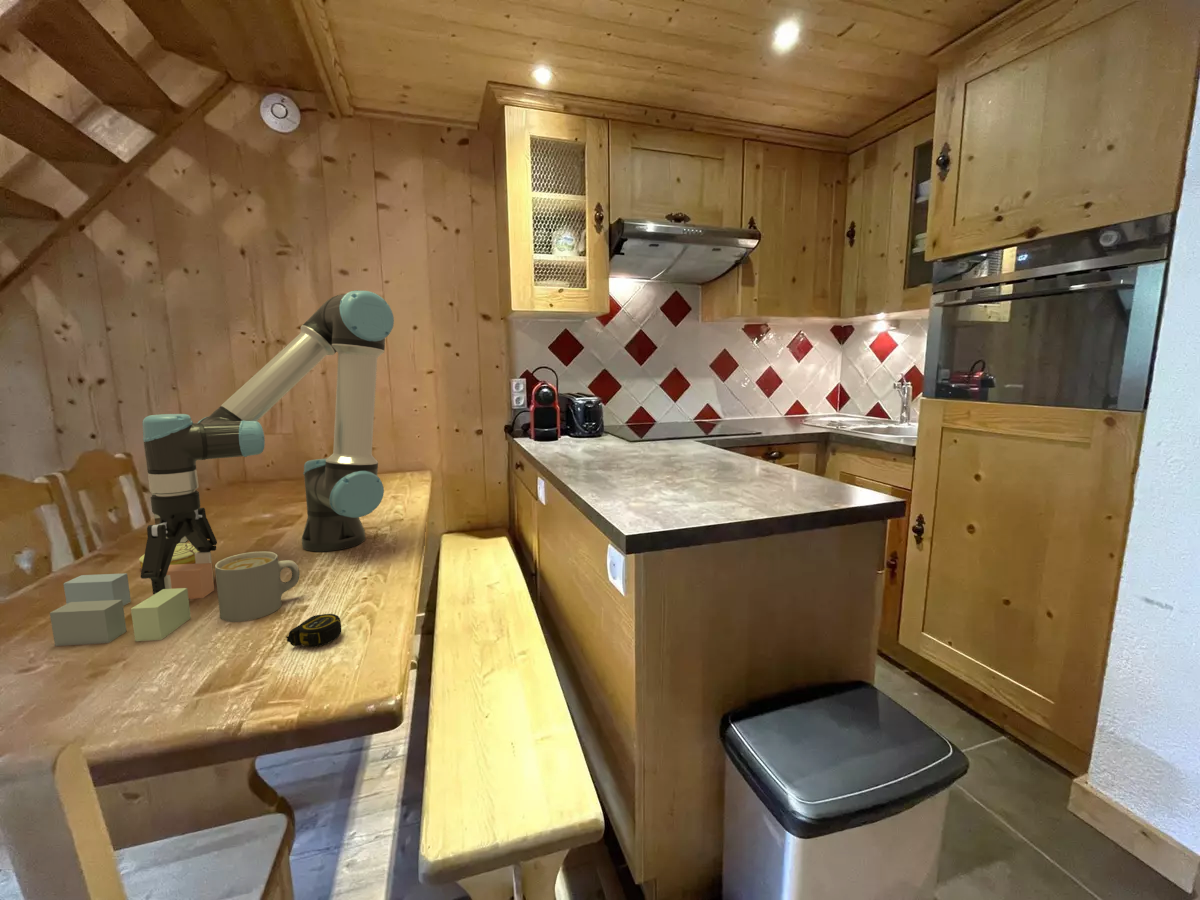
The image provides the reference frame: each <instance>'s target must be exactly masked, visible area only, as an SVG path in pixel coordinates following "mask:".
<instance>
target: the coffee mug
mask: <svg viewBox="0 0 1200 900" xmlns="http://www.w3.org/2000/svg"><path fill="white" fill-rule="evenodd" d="M278 556H279V555H278V554H277V553H275V552H273V551H261V550H260V551H251V552H243V553H239V554H235V555H231V556H228V557H225V558H223V559H221V560H219V561H217V562H216V563H215V565H214V570H215V580H216V591H217V597H218V598H217V600H218V608H219V618H220V619H221V620H222V621H225V622H231V623H238V622H247V621H253V620H256V619H261V618H263V617H266V616H268V615H270V614H273V613H275V612H277V611H278V610H279V609H280V608H281V607H282V605H283V604H282V596H283V594H285V592H287V591H289V590H290V589H292V588H293V587H295V586H296V585H297V584H298V582H299V580H300V569H299V568H300V567H299V565H298V564H297V563H296V562H295V561H294V560H291V559H290V560H289V559H287V560H286V559H285V560H279V558H278ZM285 568H289V570H290V571H291V578H290V579H289V580H288V581H282V578H281V572H282V571H283V569H285Z"/></svg>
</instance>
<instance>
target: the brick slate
mask: <svg viewBox="0 0 1200 900" xmlns="http://www.w3.org/2000/svg"><path fill="white" fill-rule="evenodd" d="M49 617H50V618H49V619H50V623H51V630H52V635H53V642H54V643H53V644H54V647H59V646H60V647H63V646H82V645H94V644H95V645H97V644H109V643H111V642H113V641H114V640H116V639H117V638H119V637H120V636H121V635H123V634H124V633H126V632H127V623H126V619H125V618H126V616H125V608H124V606H123V601H122V600H105V601H84V602H70V603H68V604H67V603H65V604H64V605H62V606H60V607H58V608H56V609H54V610H52V611H50V612H49Z"/></svg>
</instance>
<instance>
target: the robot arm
mask: <svg viewBox="0 0 1200 900" xmlns="http://www.w3.org/2000/svg"><path fill="white" fill-rule="evenodd" d="M394 318H395V317H394V314H393V310H392V309H391V306H390V305H389V303H387V301H386V300H385V299H384V298H383V297H382V296H380V295H379V294H377V293H375V292H373V291H370V290H352V291H348V292H346V293H343V294H338V295H335V296H333V297H331V298H329V299H327V300H326V301H325V302H324V303H323V304H322V305H321V306H320V307H319V308H318V309H317V310H316V311H315V312H314V313H313V314H312V315H311V316H310V317H309V318H308V319H307V320H306V321H305V322H304V323H303V324H302V325H301V326H300V333H299V334H298V335H296V337H294V338H293V339H292V340H291V341H290V342H289V343H288V344H287V345H286V346H285V347H284V348H283V349H281V350H280V351H279V352H278V353H277V354H276V355H274V357H272V358H271V359H270V360H269V361H268V362H267V363H266V364H265V365H263V366H262V368H261V369H259V370H258V371H257V372H256V373H255V374H254V375H253V376H252V377H251V378H249V380H247V381H246V382H245V383H244V384H243V385H242V386H240V388H238V389H237V390H236V391H235V392H234V393H233V394H232V395H231V396H230V397H229V398H227V399H226V400H225V401H224V402H223V403H222V404H221V405H220V406H219V407H218V408H216V409H215V410H214V411H213V412H212V413H211V414H210V415H209V416H205V417H203V418H202V419H200V420H198V422H193V420H192V417H191V415H189V414H188V413H187V414H186V413H163V414H161V413H160V414H152V415H147V416H146V417H144V418H143V420H142V436H143V437H142V441H143V448H144V449H143V450H144V456H145V461H146V462H145V463H146V471H147V476H148V478H147V480H148V485H149V492H150V493H151V496H150V505H151V512H152V514H153V515H154V514H156V515H158V516H159V517H160V522H159V524H158V525H155V524H148V526H147V527H146V531H147V532H146V534H147V539H146V545H145V550H144V554H145V555H144V554H143V555H144V560H143V565H142V568H141V571H140V578H141V579H150V581H151V588H152V593H153V594H152V595H154V594H156V593H158V592H159V591H161V590H163V589H172V587H171V578H170V575H166V574H167V571H168V568H169V565H170V562H171V559H172V556H173V553H174V550H175V547H176V545H177V544H179V543H180V541H181V539H182V538H183V537H186V538H187V539H188V541H189V543H191V544H192V545H193V546H194V547H195V548H196V550H197V551H200V552H197V553H195V561H196V563H195V564H202V563H211V565H212V566H213V562H212V554H211V552H215V551H216V550H217V546H216V545H217V544H218V540H217V538H216V536H215V534H214V532H213V529H212V526H211V525H210V522H209V520H208V518H207V515H206V514H207V513H206V509H205V507H201V498H200V492H199V491H198V488H199V487H200V486H199V478H198V471H197V461H205V460H214V459H215V460H216V459H226V458H239V457H240V458H241V457H244V458H246V457H250V456H256V455H261V454H263V452H264V450H265V445H266V443H265V439H266V438H265V432H264V429H263V426H262V424H261V423H260V422H259V420H260V419H262V417H264V415H266V414H267V413H268V412H269V411H270V410H271V409H272V408H273V407H274V406H275V405H276V404H277V403H278V402H280V400H281V399H282V398H283V397H284V396H286V394H287V393H289V391H291V390H292V389H293V388H294V387H295V386H296V385H297V384H298V383H299V382H300V381H301V380H302V379H303V378H304V377H305V376H307V375H308V374H309V373H310V372H311V371H312V369H314V368H315V367H316V366H317V365H318V364H319V363H320V362H321V361H323V359H325V357H326V356H334V355H335V354H336V353H337V355H338V356H337V373H336V392H335V393H336V394H335V408H334V409H335V410H334V411H335V412H334V413H335V414H334V431H333V448H332V449H333V450H332V452H333V453H332V454H330V456H328V457H326V458H319V459H310V460H307V461H306V462H304V465H303V477H304V489H305V501H306V512H307V519H306V521H305V524H304V525H305V526H304V530H303V532H302V535H301V536H302V537H301V546H302V547H301V548H302V549H303V550H305V551H310V552H331V551H332V552H333V551H341V550H345V549H349V548H352V547H353V548H354V547H355V546H358V545H360V544H362V543H363V542H365V540H366V531H365V528H364V526H363V523H362V521H361V518H363V517H365V516H368V515H369V514H371V513H373V511H374V510H376V509H377V508H378V507H379V506H380V505H381V503H382V500H383V497H384V494H385V489H384V484H383V481H382V480H381V478H380V477H379V476H378V473H379V472H378V469H379V467H378V466H379V461H378V460H377V459H376V458H375V456H373V440H374V439H373V437H374V421H375V403H376V387H377V386H376V385H377V371H378V359H379V357H380V356H381V355H383V354H384V353H385V347H386V346H385V345H386V338H387V337H388V336H389V335H391V332H392V330H393V328H394V324H395V323H394V322H395V319H394ZM152 493H153V494H154V495H152ZM157 536H158V537H157ZM166 537H167V538H166ZM160 569H161V571H160ZM212 575H213V576H214V573H213V570H212Z"/></svg>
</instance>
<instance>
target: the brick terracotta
mask: <svg viewBox="0 0 1200 900" xmlns="http://www.w3.org/2000/svg"><path fill="white" fill-rule="evenodd" d="M160 571H161V569H160ZM212 571H213V564H212V565H211V563H202V564H196V563H195V564H177V565H169V568H168V571H167V574H166V575H170V578H171V587H172V589H176V588H187V590H188V599H189V600H191V599H194V600H195V599H204V598H205V597H206V596H208V595H209V594H211V593H212V592H214V591H215V585H214V574H213V575H212Z"/></svg>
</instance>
